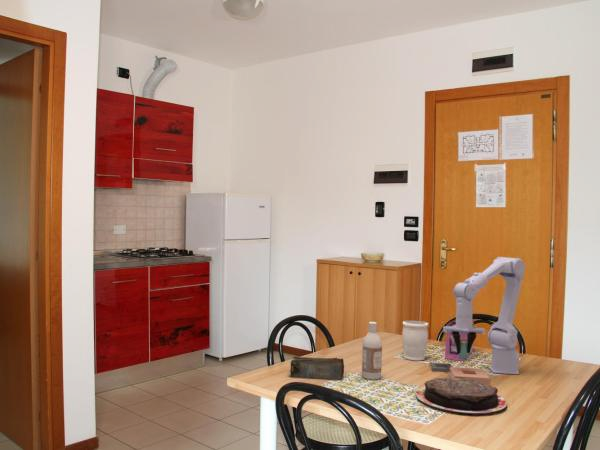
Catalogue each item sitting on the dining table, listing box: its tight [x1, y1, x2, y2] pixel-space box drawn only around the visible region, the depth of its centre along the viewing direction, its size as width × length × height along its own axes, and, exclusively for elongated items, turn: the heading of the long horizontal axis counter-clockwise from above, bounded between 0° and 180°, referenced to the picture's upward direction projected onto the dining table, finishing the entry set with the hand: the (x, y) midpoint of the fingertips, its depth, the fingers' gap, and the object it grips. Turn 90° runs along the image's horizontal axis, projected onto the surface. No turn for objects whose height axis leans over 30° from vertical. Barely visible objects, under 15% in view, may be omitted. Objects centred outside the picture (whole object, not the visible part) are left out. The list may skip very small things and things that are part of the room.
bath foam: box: [361, 321, 383, 381], centre depth 189 cm, size 7×7×20 cm
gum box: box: [444, 319, 475, 362], centre depth 226 cm, size 24×8×14 cm, turn 152°
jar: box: [401, 320, 429, 362], centre depth 217 cm, size 11×10×15 cm
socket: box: [448, 366, 491, 386], centre depth 188 cm, size 12×12×3 cm
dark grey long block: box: [289, 356, 345, 381], centre depth 190 cm, size 8×19×7 cm, turn 83°
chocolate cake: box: [415, 376, 508, 417], centre depth 167 cm, size 28×28×7 cm
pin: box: [459, 339, 468, 361], centre depth 192 cm, size 3×3×7 cm
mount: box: [429, 362, 453, 373], centre depth 202 cm, size 8×8×1 cm
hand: (463, 352), depth 191 cm, fingers closed on pin, 3 cm apart
